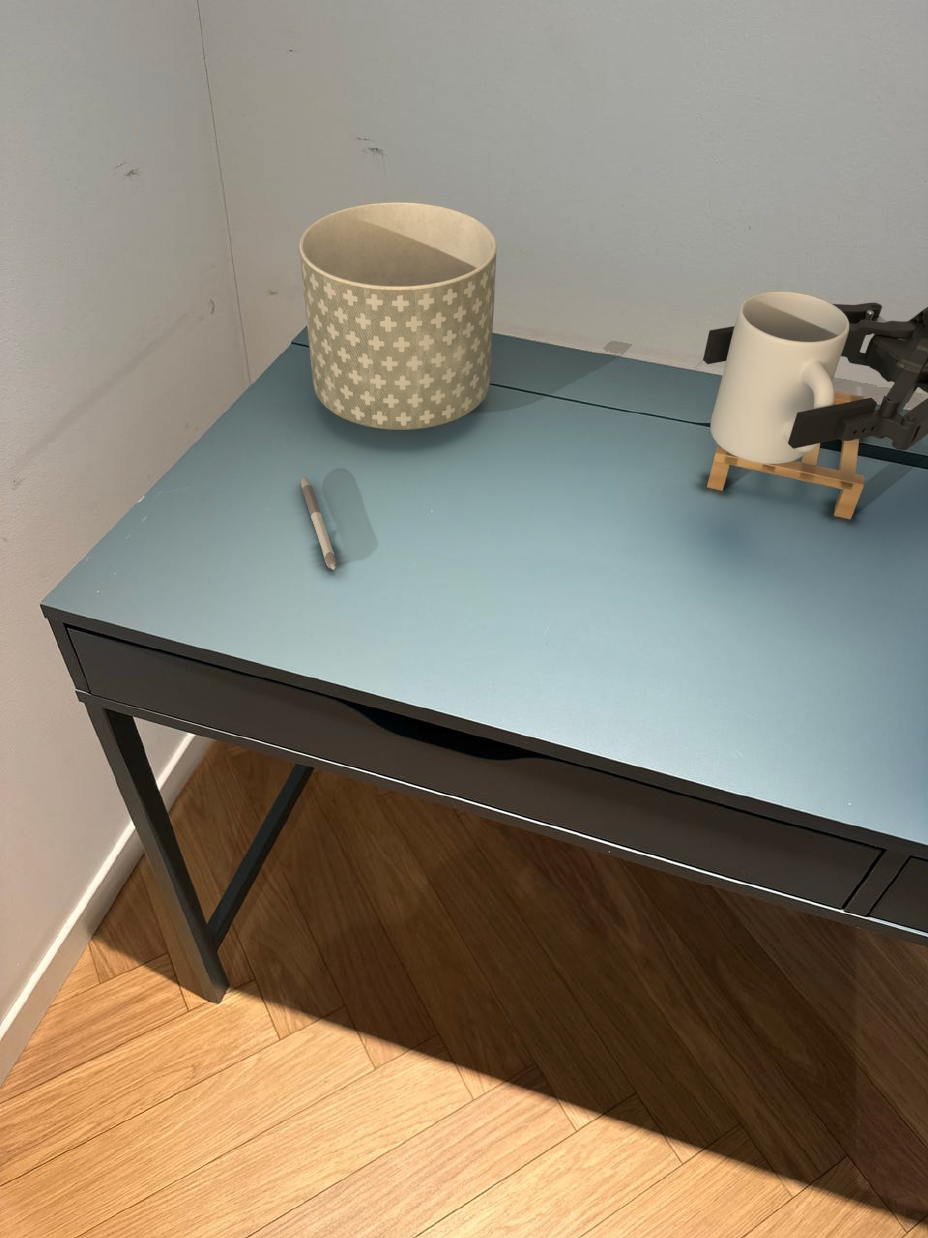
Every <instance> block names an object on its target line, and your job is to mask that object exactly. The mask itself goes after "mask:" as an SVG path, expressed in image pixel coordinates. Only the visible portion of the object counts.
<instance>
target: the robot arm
mask: <svg viewBox="0 0 928 1238" xmlns="http://www.w3.org/2000/svg"><path fill="white" fill-rule="evenodd" d="M832 304H833V305H834V306H836V307H837V308H839V309H840V310H841V311H842V312H843V313H844V314H845V315H846V317H847V319H848V321H849V332H848V336H847V339H846V342H845V345H844V348H843V351H842V354H841V357H845V358H846V359H847V361H848V363H849V364H853V365H857V366H858V365H859V366H863V367H864V366H866V367H869V368H870V369H872V370H874V371H876V372H877V373H878V374H879V375H880V376H881V378H882V379H884V380H885V381H886V382H887V383H891V382H892V383H893V385H892V386H891V388H890V390H889V391H887V394H886V395H883V398H882V400H881V403H880V405H879V408H877V409H876V407H877V405H878V402H877V401H876V400H875V399H874V398H873V397H868V398H866V399H861V400H856V401H852V402H847V403H842V404H837V405H832V406H827V407H822V408H817V409H813V410H808V411H803V412H798V413H797V415H796V418H795V421H794V425H793V428H792V431H791V434H790V437H789V440H788V444H789V445H790V446H791V447H792V448H793V449H795V448H800V447H804V446H809V445H814V444H818V443H820V444H822V443H827V442H831V441H837V440H840V441H841V442H842V441H851V440H855V439H859V438H860V439H864V438H869V437H873V438H875V439H879V440H881V439H885V438H887V439H889V440H891V441H892V443H891V446H892V448H894V449H896V450H898V451H907V450H908V449H910V448H911V447H913V446H914V445H915V444H917V443H918V442H919V441H920V440H922V439H923V438H925V437H926V436H927V435H928V397H927V398H925V399H924V400H923V401H921V402H920V403H919V404H917V405H916V406H914V407H913V408H911V409H910V410H909V411H908V412H906V413H904V414H903V415H902V414H901V413H902V412H903V410H904V408H905V406H907V404H908V403H910V402H909V401H910V400H911V399H912V397H913V395H914V394H915V392H917V389H918V388H919V389H920V390H922V391H923V392H924V393H926V394H928V306H927V307H925V308H923V309H922V310H921V311H919V312H918V313H917V314H916V315H914V316H913V317H911V318H910V319H909V320H906V321H903V320H902V321H900V320H888V321H887V320H886V319H884V318H883V317H882V316H880V315H881V312H882V309H883V306H882V304H880V303H878V302H866V303H858V304H857V303H856V304H843V303H838V304H837V303H832ZM734 326H735V325H732V326H726V327H721V328H715V329H710V330H709V331H708V336H707V340H706V344H705V349H704V352H703V358H702V361H703V362H704V363H705V364H706V365H712V364H718V363H722V362H726V359H727V355H728V351H729V347H730V343H731V339H732V335H733V331H734ZM870 335H873V336H871V338H870V340H869V342H868V345H867V347H866V350H865V352H861V350H862V347H863V344H864V341H865V339H866V336H870ZM860 439H859V440H860Z"/></svg>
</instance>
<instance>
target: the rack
mask: <svg viewBox="0 0 928 1238" xmlns="http://www.w3.org/2000/svg"><path fill="white" fill-rule="evenodd" d="M834 394H835V395H834V405H837V404H842V403H847V402H852V401H856V400H861V399H866V398H869V397H867V396H864V395H857V394H852V393H847V392H841V391H836V390H834ZM860 439H861V438H859V439H855V440H851V441H841V449H840V456H839V463H838V464H839V465H838V469H835V468H830V467H826V466H821V465H818V460H819V454H820V448H821V443H819V445H818V446H817V447H816V448H815V449H813V450H812V451H809V452H806V454H804V455H803V456H802V457H800V459H801V460H800V461H797V460H794V461H791V462H787V463H781V464H763V463H756V462H752V461H748V460H744V459H741V458H739V457H736V456H734V455H732V454H730V453H729V452H727V451H726V450H724V449H723V448H722V447H721V446H720V445H718V444H717V446H716V450H715V453H714V457H713V461H712V464H711V469H710V473H709V477H708V480H707V484H706V488H708V489H711V490H717V491H721V492H723V491H724V487H725V484H726V480H727V477H728V473H729V469H730V466H734V467H739V468H743V469H746V470H751V471H756V472H761V473H766V474H771V475H775V476H780V477H785V478H788V479H793V480H797V481H802V482H808V483H812V484H817V485H822V486H826V487H831V488H835V489H838V490H839V489H840V492H839V494H838V498H837V500H836V503H835V506H834V512H833V516H834V517H836V518H841V519H847V520H852V517H853V515H854V512H855V511H856V507H857V505H858V502H859V499H860V498H861V494H862V492H863V489H864V487H865V483H866V475H863V474H858V473H857V464H858V456H859V455H858V453H859V447H860V446H859V444H860Z"/></svg>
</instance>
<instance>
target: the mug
mask: <svg viewBox="0 0 928 1238" xmlns="http://www.w3.org/2000/svg"><path fill="white" fill-rule="evenodd" d="M833 304H834V303H831V302H828V301H827V300H825V299H822V298H820V297H817V296H814V295H810V294H807V293H802V292H796V291H787V290H783V291H782V290H775V291H765V292H760V293H756V294H754V295H751V296H750V297H748V298H746V299H745V300H744V301H743V302H742V303H741V304H740V307H739V308H738V311H737V315H736V318H735V321H734V325H733V326H734V331H733V335H732V339H731V343H730V347H729V351H728V355H727V359H726V361H725V365H724V368H723V372H722V376H721V381H720V383H719V389H718V392H717V396H716V401H715V404H714V408H713V411H712V414H711V420H710V433H711V436H712V438H713V439H714V441H715V442H716V444H717V446H718V445H720V446H721V447H722V448H723V449H724V450H726V451H727V452H729V453H730V454H732V455H734V456H736V457H739V458H741V459H744V460H748V461H752V462H756V463H763V464H781V463H787V462H791V461H797V460H799V459H801V458H802V456H803V455H804V454H806V452H809V451H812V450H813V449H815V448H816V447H817V446H818V445H819V443H818V444H814V445H809V446H804V447H800V448H795V449H793V448H792V447H791V446H790V445H789V444H788V440H789V437H790V434H791V431H792V428H793V425H794V421H795V418H796V415H797V413H798V412H803V411H808V410H813V409H817V408H822V407H827V406H832V405H834V395H835V394H834V391H835V387H834V383H833V380H834V377H835V374H836V372H837V368H838V365H839V362H840V360H841V357H842V356H841V354H842V351H843V348H844V345H845V342H846V339H847V336H848V332H849V321H848V319H847V317H846V315H845V314H844V313H843V312H842V311H841V310H840V309H839V308H837V307H836V306H834V305H833Z"/></svg>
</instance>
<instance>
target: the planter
mask: <svg viewBox="0 0 928 1238" xmlns="http://www.w3.org/2000/svg"><path fill="white" fill-rule="evenodd" d="M497 248H498V247H497V239H496V237H495V236H494V234H493V232H492V231H491V229H489V227H488V226H487V225H485V224H484V223H482V222H481V221H480V220H478V219H476V218H474V217H473V216H471V215H469V214H466V213H464V212H462V211H458V210H456V209H452V208H448V207H444V206H441V205H435V204H429V203H428V204H427V203H421V202H407V201H391V202H375V203H368V204H367V203H366V204H360V205H356V206H351V207H346V208H344V209H340V210H337V211H334V212H332V213H329V214H327V215H324V216H322V217H321V218H319V219H317V220H316V221H314V222H313V223H312V224H311V225H309V226H308V227H307V228H306V229H305V231H304V232H303V233H302V235H301V236H300V239H299V247H298V250H299V258H300V259H299V260H300V269H301V280H302V289H303V298H304V307H305V318H306V328H307V337H308V338H307V339H308V348H309V356H310V358H309V359H310V366H311V367H310V368H311V376H312V377H311V379H312V385H313V390H314V393H315V395H316V397H317V398H318V401H320V402H321V404H322V405H323V406H324V407H325V408H326V409H328V411H330V412H331V413H333V414H335V415H336V416H338V417H340V418H342V419H344V420H346V421H349V422H351V423H354V424H358V425H360V426H365V427H369V428H374V429H381V430H391V431H393V430H395V431H406V430H409V431H410V430H420V429H421V430H422V429H428V428H432V427H438V426H442V425H444V424H448V423H451V422H453V421H456V420H459V419H460V418H462V417H465V416H466V415H468V414H469V413H471V412H472V411H474V410H475V409H476V408H477V407H479V405H480V404H482V403H483V401H484V400H485V399H486V397H487V395H488V393H489V389H490V386H491V376H492V375H491V373H492V356H493V355H492V351H493V329H494V313H495V311H494V309H495V291H496V289H495V288H496V287H495V286H496V268H497V266H496V265H497V250H498V249H497Z"/></svg>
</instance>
